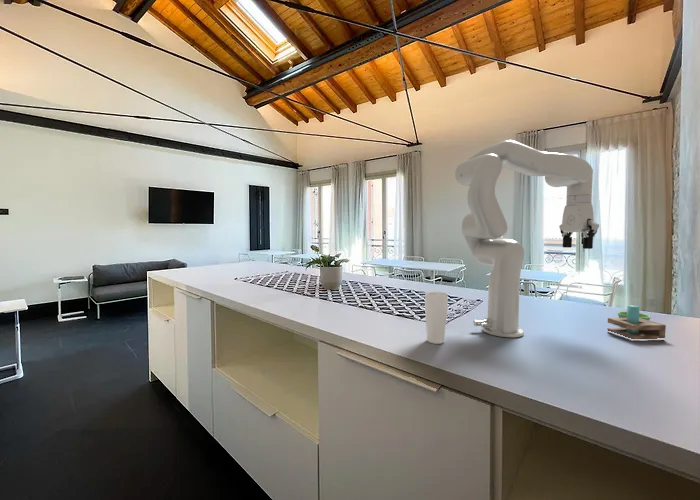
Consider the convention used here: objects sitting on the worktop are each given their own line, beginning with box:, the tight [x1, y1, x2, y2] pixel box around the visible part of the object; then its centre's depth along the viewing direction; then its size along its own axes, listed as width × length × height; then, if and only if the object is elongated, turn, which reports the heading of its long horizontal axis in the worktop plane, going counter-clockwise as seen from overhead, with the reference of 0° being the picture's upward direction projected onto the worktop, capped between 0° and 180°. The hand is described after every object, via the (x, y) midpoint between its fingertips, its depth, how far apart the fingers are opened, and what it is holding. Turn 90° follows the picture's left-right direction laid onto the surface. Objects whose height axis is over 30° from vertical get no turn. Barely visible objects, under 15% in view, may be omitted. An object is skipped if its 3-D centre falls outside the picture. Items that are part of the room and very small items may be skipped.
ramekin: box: [617, 311, 651, 321], centre depth 118 cm, size 9×9×4 cm
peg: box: [626, 304, 641, 334], centre depth 105 cm, size 3×3×10 cm
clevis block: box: [606, 317, 667, 339], centre depth 105 cm, size 11×9×5 cm
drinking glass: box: [424, 291, 449, 345], centre depth 99 cm, size 7×7×15 cm
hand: (576, 248), depth 118 cm, fingers open, 9 cm apart
